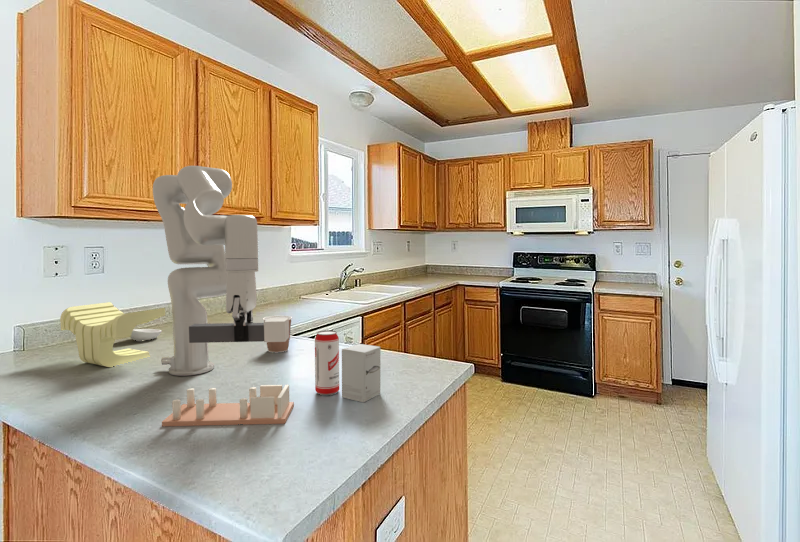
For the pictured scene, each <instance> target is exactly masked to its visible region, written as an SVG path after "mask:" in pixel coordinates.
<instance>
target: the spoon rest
mask: <svg viewBox="0 0 800 542" xmlns="http://www.w3.org/2000/svg"><path fill="white" fill-rule="evenodd" d="M161 333H162V330H161V329H156V328H155V329H154V328H141V329H140V328H139V329H138V328H136V329H135V328H134V329H133V331H132V334H131V337H129V338H130V339H132V340H134V341H135V340H136V341H135V342H143V341H142V340H149V341H151V340H150V339H152V340H154V339H156V338H157V337H159V336H160V335H161Z"/></svg>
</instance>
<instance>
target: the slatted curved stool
mask: <svg viewBox="0 0 800 542" xmlns="http://www.w3.org/2000/svg"><path fill="white" fill-rule="evenodd" d="M162 317H166V307H160V308H153V309H147V310H145V309H144V310H141V311H140V310H139V311H134V312H133V311H132V312H128V313H127V312H126V313H124V312H123V311H121V310H120V309H119V308H117V307H116V306H115V305H114V304H113V303H112V302H111V301H109V302H108V301H107V302H100V303H91V304H84V305H83V304H82V305H74V306H69V307H67V308H66V309H64V310H63V311H62V313H61V315H60V318H59V319H60V321H59V322H60V323H59V324H60V331H69V332H71V333H72V334H73V336H75V341H76V345H77V351H78V357H79V359H80V360H81V361H82V362H84V363H87V364H93V365H97V366H102V367H107V368H114V367H113V366H115V367H117V366H116V365H119V366H121V365H120V364H123V365H125V364H124V363H127V364H129V363H128V362H131V363H133V362H132V361H135V362H137V361H136V360H139V359H143V358H147V357H151V355H150V352H149V351H146V350H141V349H140V350H139V349H133V348H130V347H129V348H124V349H118V350H114V349H113V348H114V344H115V341H119V340H122V339H127V338H130V337H131V334H132V331H133V329H135V328H136V327H137V326H139V325H142V324H147V323H150V322H153V321H155V320H157V319H160V318H162ZM147 359H148V358H147ZM143 360H144V359H143ZM139 361H140V360H139Z"/></svg>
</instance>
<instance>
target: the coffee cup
mask: <svg viewBox="0 0 800 542" xmlns="http://www.w3.org/2000/svg"><path fill="white" fill-rule="evenodd" d="M268 318H289V338H288V339H287V340H286V341H285V342H266V347H267V352H268V353H271V352H275V353H274V354H278V352H281V353H285V352H288V349H289V345H290V339H291V327H292V325H291V324H292V319H293V316H290V315H270V316H269V315H268V316H264V317H263V318H262V320H263V322H264V321H266V320H267V319H268ZM284 351H285V352H284Z"/></svg>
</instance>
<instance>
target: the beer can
mask: <svg viewBox="0 0 800 542" xmlns="http://www.w3.org/2000/svg"><path fill="white" fill-rule="evenodd" d="M339 339H340V338H339V336H338V333H337V330H330V329H329V330H328V329H327V330H320V331H317V332H316V336H315V338H314V378H315V380H314V381H315V383H314V385H315V387H314V388H315V392H316V393H317V394H318V395H319V394H320V395H319V396H322V395H330V396H333V394H334V395H336V394H337V393H338V392H339V390H340V340H339ZM335 393H336V394H335Z"/></svg>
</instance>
